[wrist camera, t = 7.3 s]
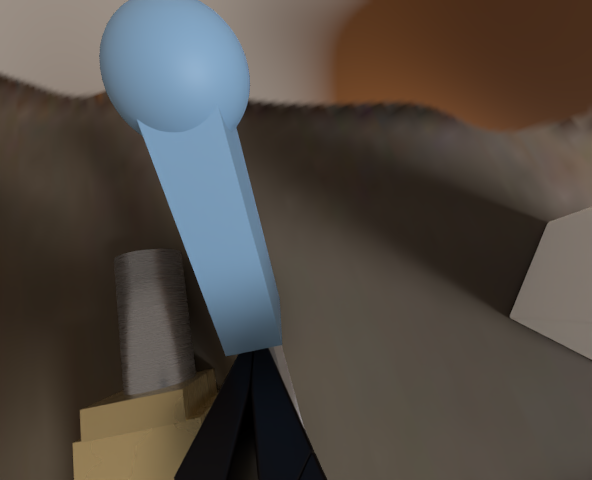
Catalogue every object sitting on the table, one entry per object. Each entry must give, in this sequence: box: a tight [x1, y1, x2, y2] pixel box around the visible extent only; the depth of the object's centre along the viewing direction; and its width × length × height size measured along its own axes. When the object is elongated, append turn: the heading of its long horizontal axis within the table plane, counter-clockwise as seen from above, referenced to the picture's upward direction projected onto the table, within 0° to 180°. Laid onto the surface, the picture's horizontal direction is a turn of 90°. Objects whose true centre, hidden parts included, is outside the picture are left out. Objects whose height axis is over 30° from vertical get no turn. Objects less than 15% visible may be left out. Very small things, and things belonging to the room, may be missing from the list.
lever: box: [99, 0, 307, 434], centre depth 10 cm, size 3×3×18 cm
